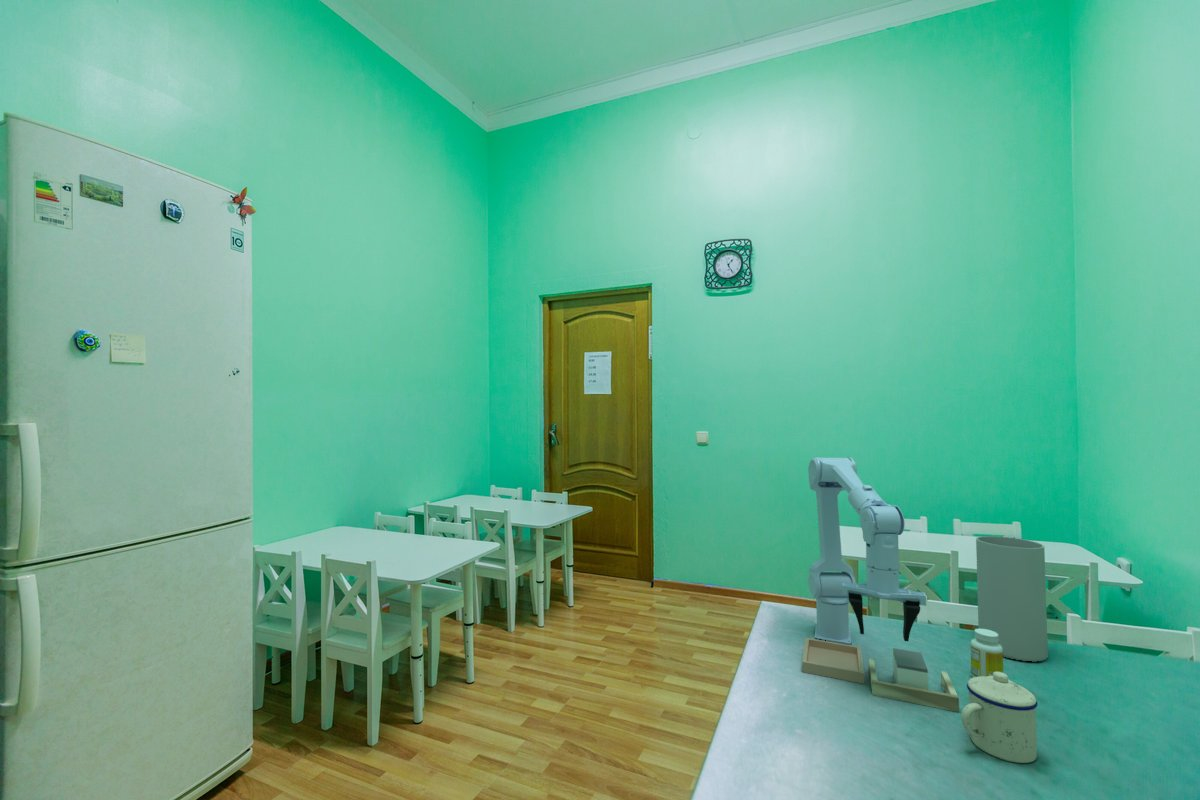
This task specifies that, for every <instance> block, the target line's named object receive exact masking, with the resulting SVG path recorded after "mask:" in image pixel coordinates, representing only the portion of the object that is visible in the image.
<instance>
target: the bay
mask: <svg viewBox="0 0 1200 800" xmlns="http://www.w3.org/2000/svg"><path fill="white" fill-rule="evenodd" d="M876 670H877V669H876V664H875V659H873V658H868V675H869V681H870V682H869V683H870V689H871V696H875V697H880V698H884V699H885V698H886V699H890V700H896V701H901V702H905V703H910V704H914V705H915V704H916V705H921V706H926V707H931V708H936V709H941V710H945V711H949V712H950V711H951V712H954V713H955V712H957V713H960V699H959V698H960V697H959V696H958V694H957V691H956V689H955V687H954V684H953V683H952V680H951V678H950V676H949V674H948V672H947V671H944V670H940V685H941V687H942V689H943V691H944V692H942V691H935V690H929V689H928V690H925V689H920V688H915V687H909V686H904V685H898V684H895V683H891V682H886V681H881V680H878V674H877V671H876Z"/></svg>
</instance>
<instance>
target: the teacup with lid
mask: <svg viewBox="0 0 1200 800" xmlns="http://www.w3.org/2000/svg"><path fill="white" fill-rule="evenodd" d="M966 688H967V690H968V704H966V705H965V706H964V707H963V709H962V711H961V717H960V718H961V723H962V726H963V728H964V729H965V731H966V732H967V733H968V734H969V738H970V740H971V741H972V743H973V744H974V745H975V746H976V747H977V748H978V749H980V750H982V751H983V752H985V753H986V754H988V755H990V756H992V757H996V758H997V759H1001V760H1003V761H1007V762H1013V763H1018V764H1027V763H1029V764H1030V763H1032V762H1034V761H1035V760H1037V757H1038V744H1037V743H1038V742H1037V740H1038V739H1037V712H1036V711H1037V710H1036V708H1037V707H1038V705H1039V704H1038V701H1037V699H1036V697H1035V695H1034V694H1033V693H1032V692H1031V691H1030V690H1028V689H1027V688H1026V687H1023V686H1022V685H1019V684H1017V683H1015V682H1014V681H1012V680H1010V679H1009V676H1008V674H1006V673H1004V672H1003V673H1002V672H994V673H993V676H987V677H985V676H979V677H971V678H970V679H968V681H967V683H966Z"/></svg>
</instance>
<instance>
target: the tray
mask: <svg viewBox="0 0 1200 800" xmlns="http://www.w3.org/2000/svg"><path fill="white" fill-rule="evenodd" d="M804 638H805V640H804V647H803V653H802V654H803V656H802V665H801V667H802V670H801V671H802V673H806V674H811V675H815V676H816V675H817V676H821V677H822V676H823V677H826V676H827V677H828V678H831V677H832V678H833V679H836V678H837V679H836V680H842V681H847V682H853V683H859V684H863V685H864V684H865V671H864V670H865V669H864V662H863V655H862V654H863V653H862V646H858V645H852V644H850V645H849V644H843V643H837V642H831V641H825V640H819V639H815V638H809V637H804ZM827 677H826V678H827ZM832 678H831V679H832Z"/></svg>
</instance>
